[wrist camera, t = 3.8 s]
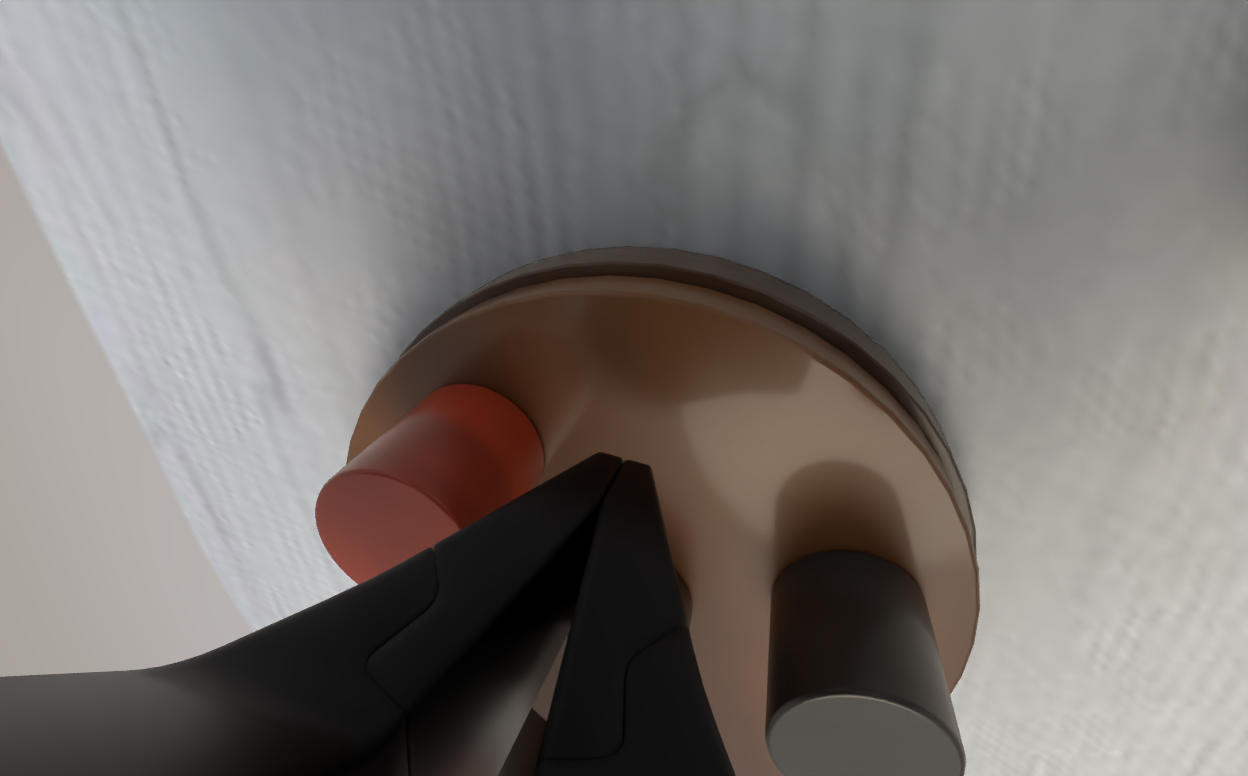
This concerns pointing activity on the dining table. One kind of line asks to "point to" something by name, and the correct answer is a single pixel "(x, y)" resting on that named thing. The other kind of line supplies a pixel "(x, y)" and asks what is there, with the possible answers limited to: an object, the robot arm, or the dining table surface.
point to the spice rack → (699, 505)
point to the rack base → (742, 286)
